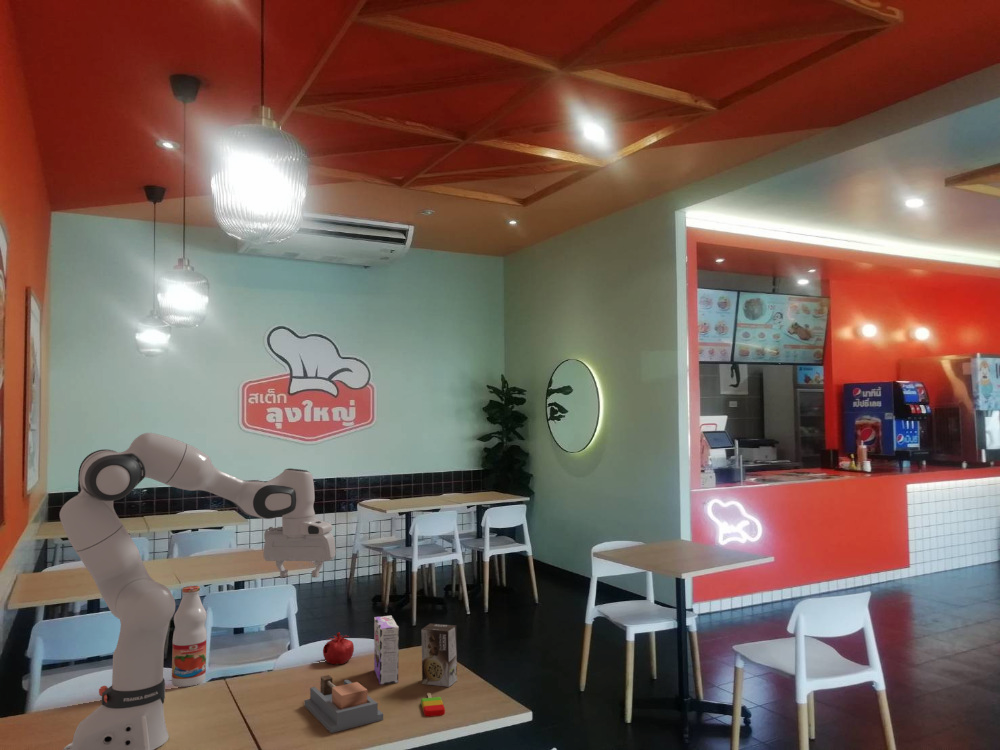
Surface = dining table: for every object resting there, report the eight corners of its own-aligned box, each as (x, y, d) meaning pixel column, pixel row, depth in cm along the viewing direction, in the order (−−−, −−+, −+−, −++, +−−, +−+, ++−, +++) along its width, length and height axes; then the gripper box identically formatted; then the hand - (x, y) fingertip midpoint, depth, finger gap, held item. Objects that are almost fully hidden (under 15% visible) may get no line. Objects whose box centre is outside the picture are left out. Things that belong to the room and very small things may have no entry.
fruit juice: (203, 674, 215) (205, 582, 217) (207, 683, 207) (210, 588, 209) (169, 680, 210) (172, 586, 212) (173, 689, 202) (176, 592, 204)
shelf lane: (331, 733, 172) (331, 714, 172) (304, 705, 189) (304, 688, 189) (383, 719, 179) (383, 701, 180) (353, 694, 197) (353, 678, 197)
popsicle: (424, 718, 181) (424, 711, 181) (418, 697, 196) (418, 690, 196) (445, 716, 182) (445, 709, 182) (438, 695, 197) (438, 688, 197)
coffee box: (457, 680, 207) (457, 625, 209) (449, 687, 201) (448, 630, 203) (430, 676, 211) (430, 622, 212) (420, 684, 205) (420, 628, 206)
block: (341, 724, 175) (341, 695, 176) (312, 696, 194) (312, 670, 195) (367, 718, 179) (367, 689, 180) (336, 691, 198) (336, 665, 199)
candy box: (373, 670, 217) (373, 616, 219) (392, 667, 219) (392, 614, 220) (379, 685, 204) (379, 628, 205) (399, 682, 206) (399, 626, 207)
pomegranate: (357, 657, 230) (358, 628, 231) (347, 667, 220) (348, 637, 221) (329, 655, 232) (330, 627, 232) (317, 665, 222) (318, 635, 223)
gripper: (258, 528, 191) (259, 579, 191) (327, 528, 188) (328, 579, 187) (270, 525, 198) (270, 574, 197) (337, 524, 194) (338, 574, 193)
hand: (299, 576), depth 192 cm, fingers open, 8 cm apart
